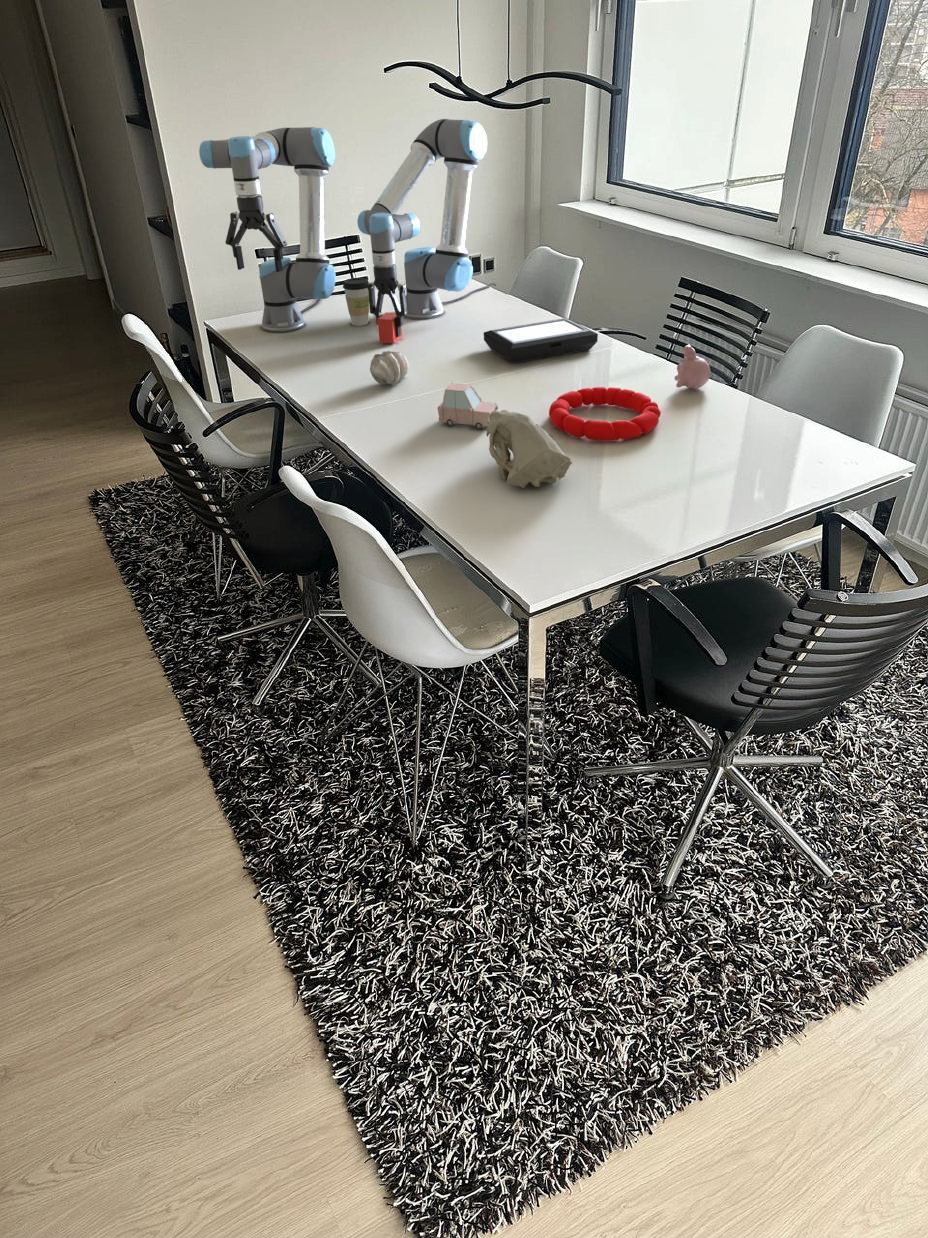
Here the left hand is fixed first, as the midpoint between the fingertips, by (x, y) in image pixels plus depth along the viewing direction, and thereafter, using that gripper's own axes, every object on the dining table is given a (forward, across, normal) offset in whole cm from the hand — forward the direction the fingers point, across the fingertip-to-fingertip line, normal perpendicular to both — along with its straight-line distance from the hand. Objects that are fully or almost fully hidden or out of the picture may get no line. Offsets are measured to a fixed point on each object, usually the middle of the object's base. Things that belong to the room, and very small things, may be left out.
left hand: (260, 269), depth 278 cm
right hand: (+27, +30, +29) cm, 49 cm away
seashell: (+29, +46, -10) cm, 56 cm away
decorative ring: (+29, +115, -22) cm, 121 cm away
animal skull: (+29, +102, -58) cm, 121 cm away
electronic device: (+29, +82, +33) cm, 93 cm away
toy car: (+29, +80, -33) cm, 91 cm away
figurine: (+29, +134, +9) cm, 138 cm away
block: (+28, +30, +29) cm, 50 cm away
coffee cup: (+29, +10, +46) cm, 56 cm away
